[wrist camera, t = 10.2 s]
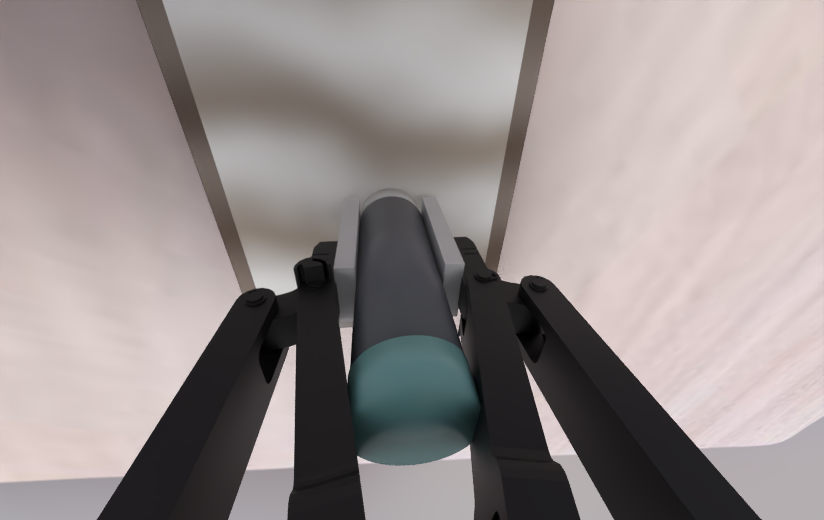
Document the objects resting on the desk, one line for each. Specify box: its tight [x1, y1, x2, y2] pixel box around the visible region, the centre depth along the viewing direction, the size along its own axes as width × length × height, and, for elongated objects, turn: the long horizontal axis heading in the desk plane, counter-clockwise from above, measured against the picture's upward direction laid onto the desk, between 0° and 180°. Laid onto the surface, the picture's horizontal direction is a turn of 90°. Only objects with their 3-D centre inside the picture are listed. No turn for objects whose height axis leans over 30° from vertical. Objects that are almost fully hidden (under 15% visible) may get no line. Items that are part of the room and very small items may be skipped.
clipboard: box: [136, 0, 554, 328], centre depth 16 cm, size 24×17×2 cm
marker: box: [347, 189, 481, 465], centre depth 13 cm, size 4×4×12 cm
